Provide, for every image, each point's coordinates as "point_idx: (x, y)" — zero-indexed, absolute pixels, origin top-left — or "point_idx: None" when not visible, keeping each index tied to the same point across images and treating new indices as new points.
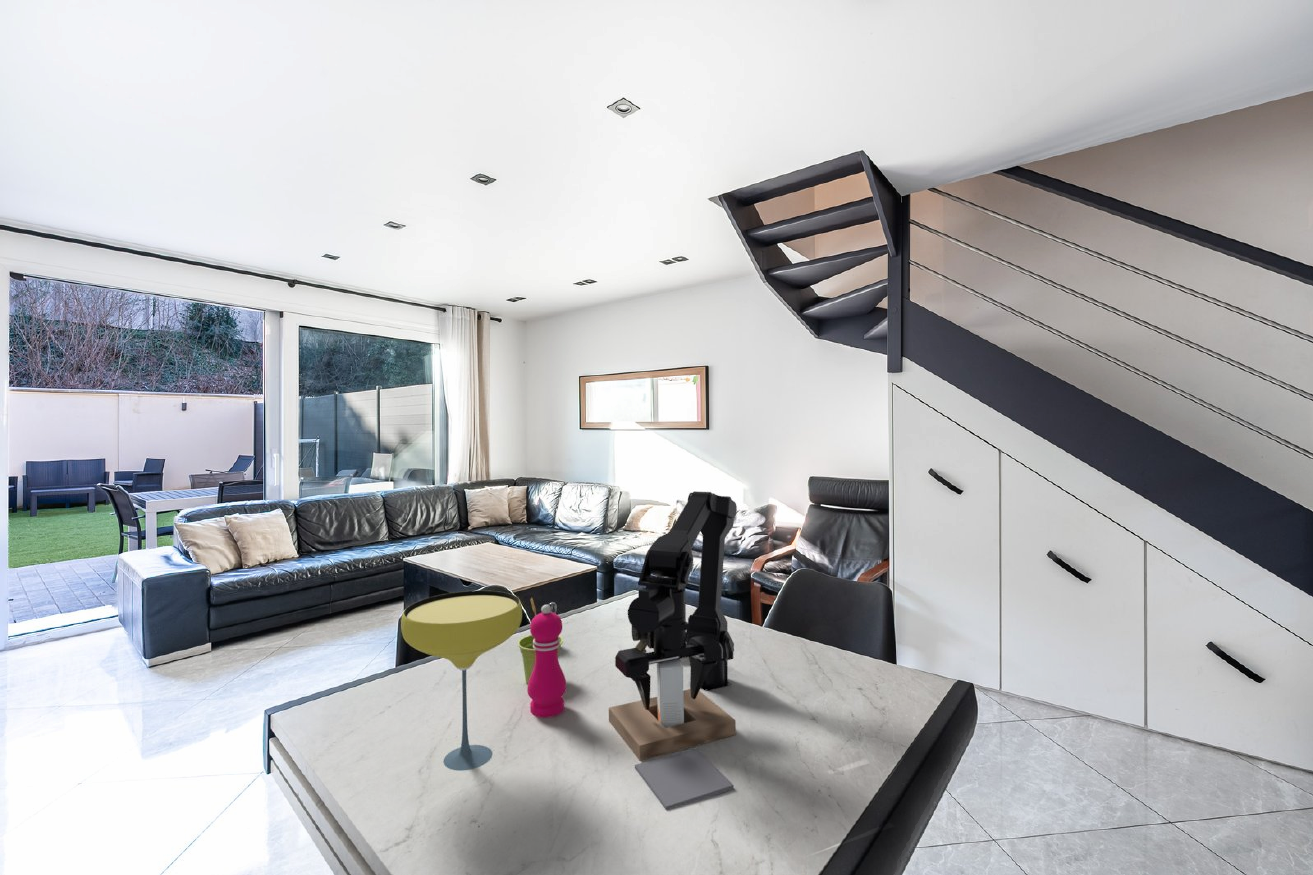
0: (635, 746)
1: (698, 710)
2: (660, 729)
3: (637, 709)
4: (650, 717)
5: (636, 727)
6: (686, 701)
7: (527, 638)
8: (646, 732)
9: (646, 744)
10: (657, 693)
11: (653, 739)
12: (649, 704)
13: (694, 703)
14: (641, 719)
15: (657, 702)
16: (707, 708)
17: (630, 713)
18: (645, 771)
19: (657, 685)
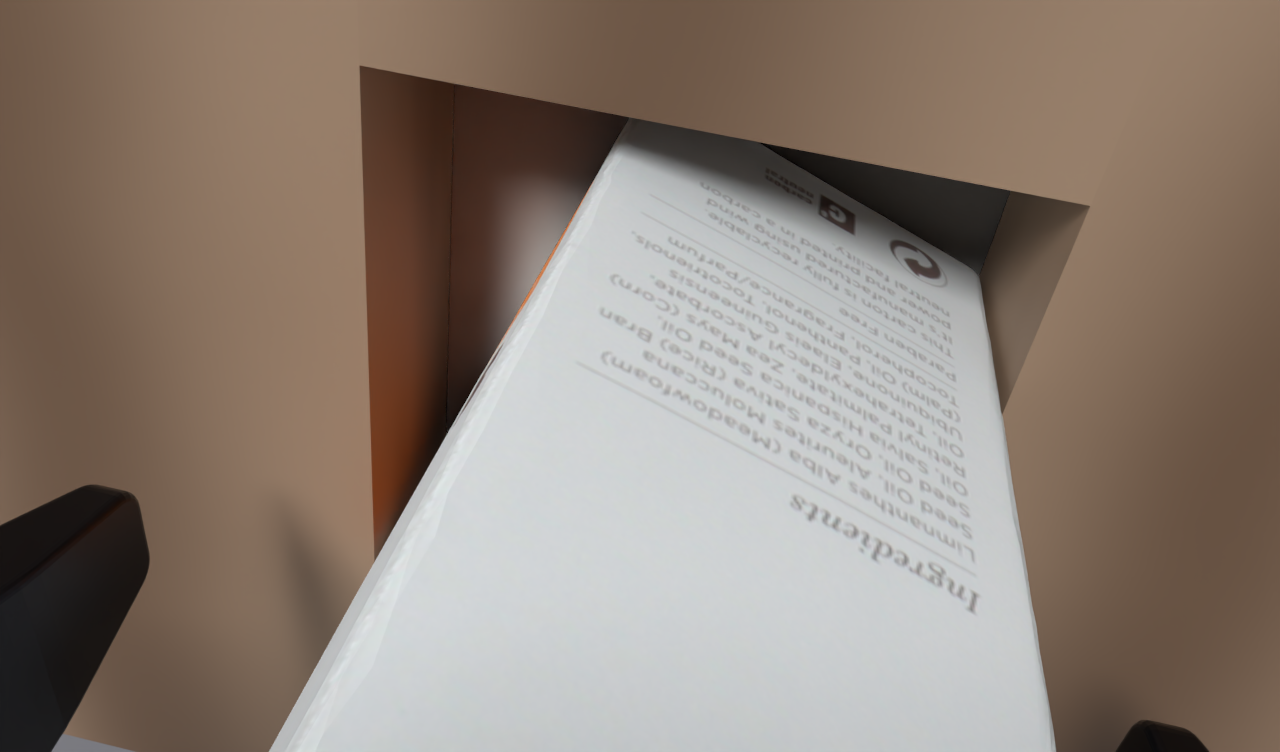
0: None
1: (1098, 678)
2: (312, 665)
3: (176, 23)
4: (301, 400)
5: (27, 472)
6: (1239, 376)
7: None
8: (128, 612)
9: (74, 732)
10: (413, 495)
11: (164, 732)
12: (79, 694)
13: (1277, 515)
14: (150, 356)
15: (556, 250)
16: (1269, 722)
17: (5, 85)
18: (79, 750)
19: (279, 732)
